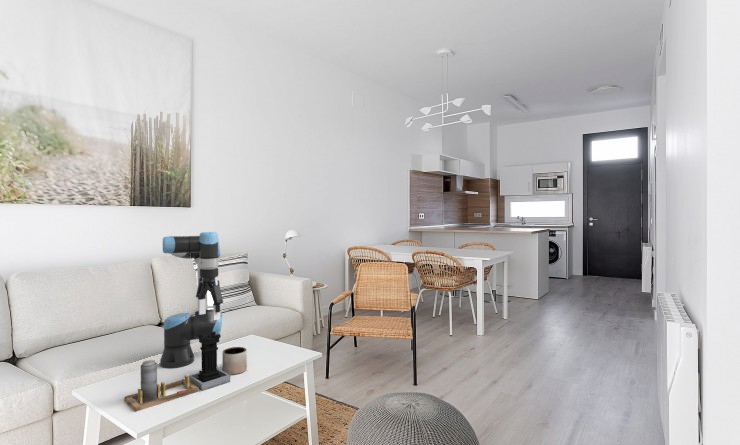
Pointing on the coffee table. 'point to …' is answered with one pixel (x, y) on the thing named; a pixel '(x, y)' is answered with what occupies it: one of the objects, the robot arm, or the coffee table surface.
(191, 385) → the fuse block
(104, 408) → the coffee table surface
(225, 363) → the planter
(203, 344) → the chess piece
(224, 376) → the tray
